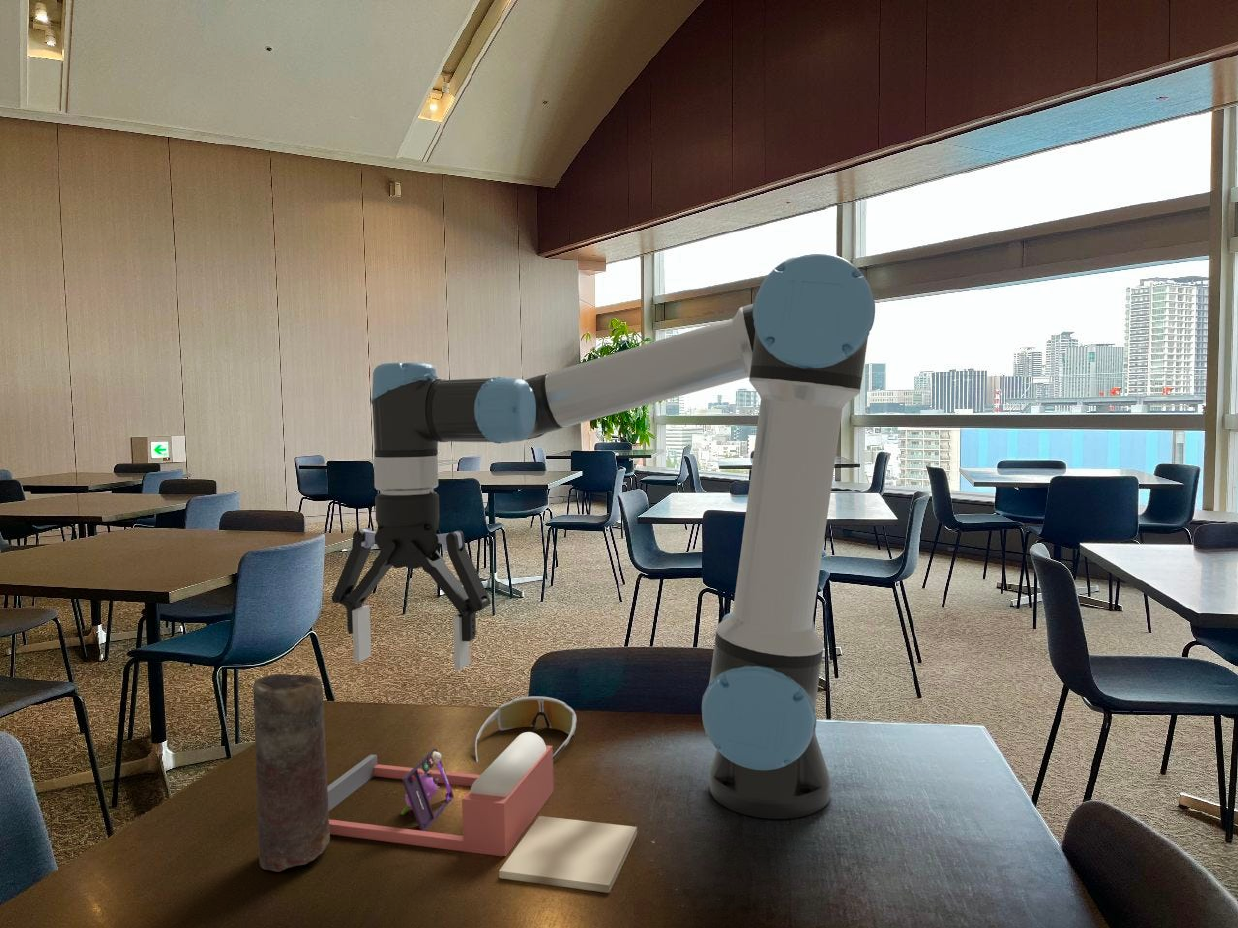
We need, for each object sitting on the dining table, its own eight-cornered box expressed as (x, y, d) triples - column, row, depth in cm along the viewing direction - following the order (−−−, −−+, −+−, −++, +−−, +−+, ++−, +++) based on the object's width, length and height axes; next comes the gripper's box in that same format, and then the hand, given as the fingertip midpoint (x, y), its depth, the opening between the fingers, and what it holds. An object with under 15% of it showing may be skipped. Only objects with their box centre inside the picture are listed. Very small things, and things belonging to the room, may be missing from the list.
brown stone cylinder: (278, 837, 94) (271, 668, 93) (341, 837, 94) (334, 668, 93) (246, 875, 87) (237, 691, 85) (314, 874, 86) (306, 690, 85)
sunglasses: (587, 728, 126) (585, 698, 125) (558, 784, 112) (556, 751, 111) (501, 722, 130) (499, 693, 129) (463, 775, 115) (460, 743, 114)
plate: (637, 833, 94) (637, 826, 94) (609, 892, 82) (609, 885, 82) (539, 822, 97) (539, 815, 97) (499, 877, 85) (499, 870, 85)
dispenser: (553, 791, 105) (552, 729, 104) (505, 856, 89) (503, 783, 89) (371, 772, 111) (369, 713, 111) (297, 829, 96) (294, 762, 96)
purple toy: (410, 776, 95) (441, 745, 104) (371, 788, 96) (405, 756, 105) (429, 830, 95) (459, 795, 104) (391, 841, 96) (423, 805, 105)
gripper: (514, 489, 99) (517, 660, 100) (335, 487, 105) (340, 647, 107) (489, 495, 92) (493, 679, 93) (298, 492, 98) (304, 665, 99)
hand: (411, 663), depth 100 cm, fingers open, 13 cm apart
